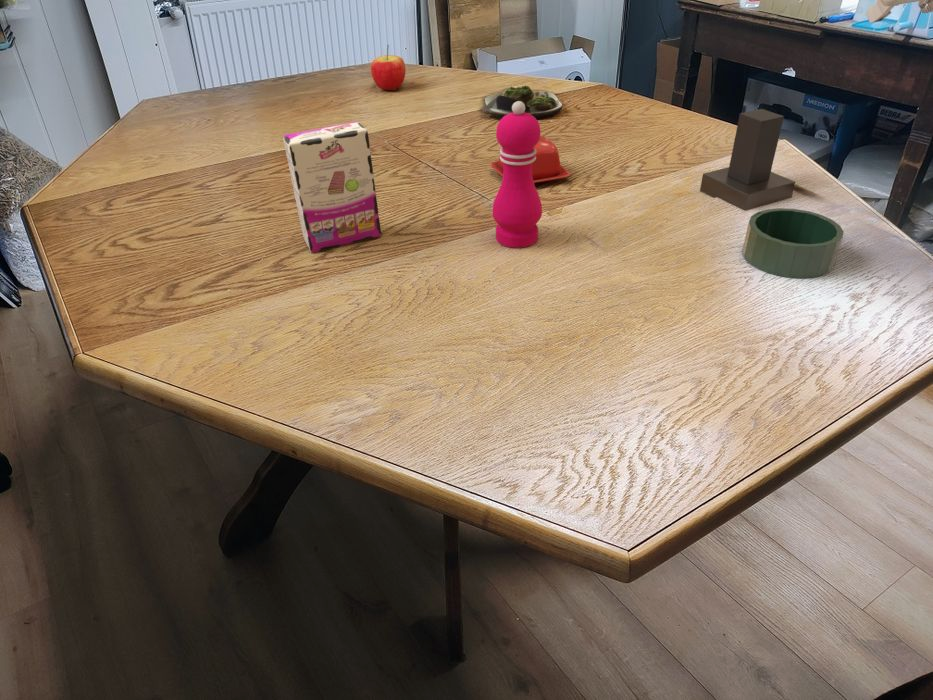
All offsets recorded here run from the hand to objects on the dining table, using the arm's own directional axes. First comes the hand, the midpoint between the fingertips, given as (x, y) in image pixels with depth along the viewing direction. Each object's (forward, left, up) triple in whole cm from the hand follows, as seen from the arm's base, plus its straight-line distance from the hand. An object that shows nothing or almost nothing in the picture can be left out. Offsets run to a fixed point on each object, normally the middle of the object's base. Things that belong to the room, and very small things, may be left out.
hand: (898, 12), depth 84 cm
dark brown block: (+2, -15, -26) cm, 30 cm away
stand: (+2, -15, -29) cm, 33 cm away
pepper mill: (+42, -20, -29) cm, 55 cm away
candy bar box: (+65, -33, -29) cm, 79 cm away
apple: (+29, -106, -29) cm, 114 cm away
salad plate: (+10, -74, -29) cm, 81 cm away
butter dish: (+28, -40, -29) cm, 57 cm away
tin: (+13, +4, -29) cm, 32 cm away
